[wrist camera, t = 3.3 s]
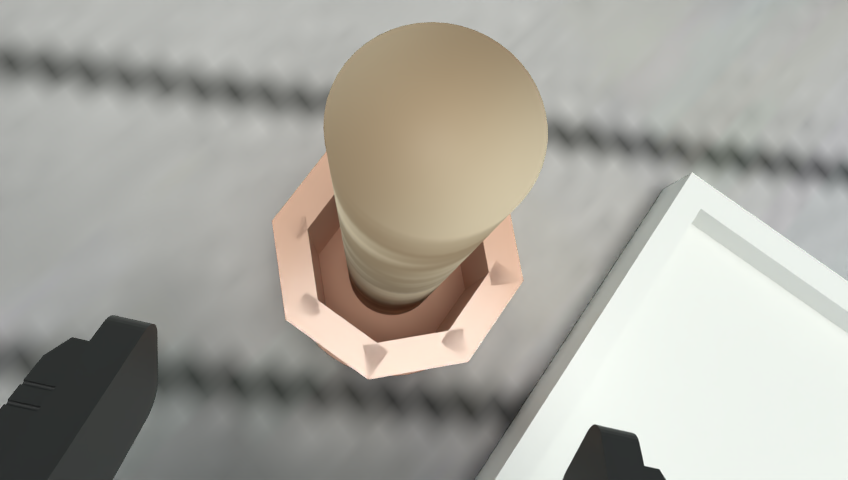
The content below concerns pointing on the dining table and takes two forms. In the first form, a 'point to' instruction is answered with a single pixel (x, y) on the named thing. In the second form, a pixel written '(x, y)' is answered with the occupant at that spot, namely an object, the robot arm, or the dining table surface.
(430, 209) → the wooden pin
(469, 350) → the holder cup
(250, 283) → the dining table surface
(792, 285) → the tray
